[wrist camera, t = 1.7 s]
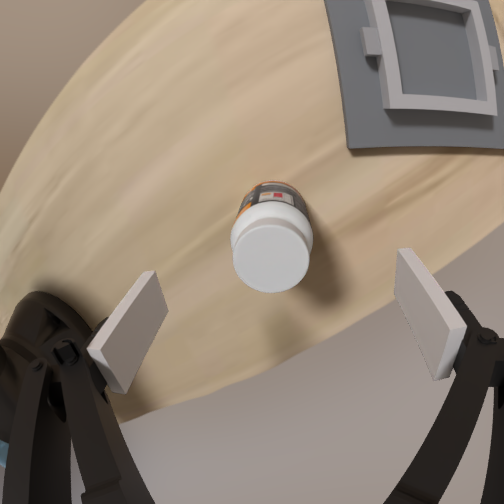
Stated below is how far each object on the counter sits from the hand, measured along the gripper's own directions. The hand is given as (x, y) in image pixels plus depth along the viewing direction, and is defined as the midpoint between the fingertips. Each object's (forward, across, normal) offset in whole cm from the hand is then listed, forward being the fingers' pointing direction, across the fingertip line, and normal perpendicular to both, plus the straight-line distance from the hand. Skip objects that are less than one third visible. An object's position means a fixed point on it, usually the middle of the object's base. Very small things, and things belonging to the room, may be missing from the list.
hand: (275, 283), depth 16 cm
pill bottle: (+13, -1, 0) cm, 13 cm away
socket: (+13, +15, +14) cm, 24 cm away
